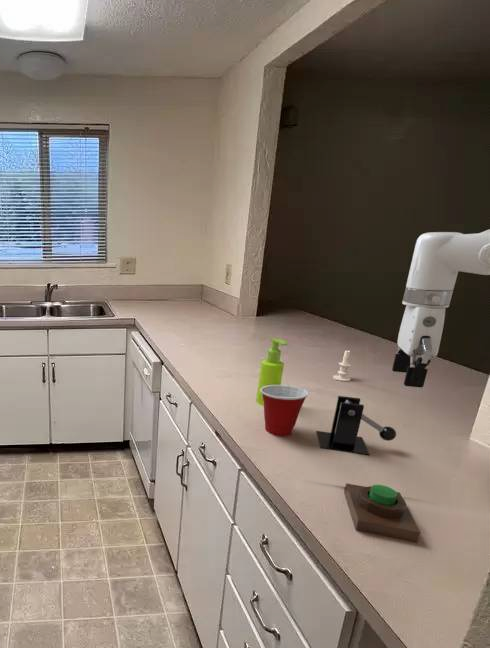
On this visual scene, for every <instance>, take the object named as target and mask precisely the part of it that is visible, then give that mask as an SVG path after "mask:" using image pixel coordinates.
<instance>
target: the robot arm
mask: <svg viewBox="0 0 490 648" xmlns="http://www.w3.org/2000/svg"><path fill="white" fill-rule="evenodd" d="M459 272H462V273H469V274H475V275H483V276H490V228H489V229H486V230H484V231H481V232H479V233H462V232H457V231H435V232H433V231H432V232H424V233H422V234H420V235H419V236H418V238H417V239H416V241H415V245H414V251H413V254H412V259H411V263H410V267H409V271H408V276H407V281H406V284H405V288H404V293H403V298H402V302H401V304H402V305H404V306H405V308H404V313H403V316H402V320H401V323H400V326H399V331H398V336H397V348H396V351H395V352H396V353H395V355H394V360H393V363H392V368H391V370H392V371H393V372H395V373H404V374H405V377H404V380H403V385H404V386H405V387H412V388H420V389H421V388H423V387H424V386H425V382H426V378H427V375H428V370H429V368H430V364H431V361H432V360H431V358H436V357H437V356H438V353H439V350H440V345H441V340H442V336H443V335H442V334H443V330H444V324H445V318H446V308H449V307H450V304H451V300H452V296H453V292H454V289H455V285H456V282H457V278H458V274H459ZM416 358H417V359H416Z"/></svg>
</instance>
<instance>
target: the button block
mask: <svg viewBox="0 0 490 648" xmlns="http://www.w3.org/2000/svg"><path fill="white" fill-rule="evenodd" d="M371 486H372V485H371ZM371 486H364V485H357V484H352V483H347V482H346V483H345V487H344V491H343V493H344V494H343V495H344V497H345V498H344V499H345V500H346V504H347V507H348V510H349V514H350V517H351V520H352V524H353V526H354V530H355V532H360V533H361V532H362V533H366V534H371V535H376V536H380V537H386V538H390V539H396V540H401V541H406V542H410V543H415V544H418V541H419V538H420V536H421V531H420V529H419V526H418V525H417V523H416V521H415V519H414V517H413V515H412V514H411V511H410V509H409V508H408V507H409V506H407V503H406V500H405V499H404V498H403V496H402V494H401V492H398V491H396V492H397V494H398V496H397V499H396V503H395V504H394V505H384V504H380V503H378V502H376V501H373V500H372V499H371V498H370V497H369V493H370V489H371Z"/></svg>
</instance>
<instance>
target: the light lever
mask: <svg viewBox="0 0 490 648" xmlns="http://www.w3.org/2000/svg"><path fill="white" fill-rule="evenodd" d="M344 403H352V402H351V401H349V400H348V399H347V400H346V401H345V402H344ZM353 404H354V403H353ZM361 421H363V422H365V423H366V424H367V425H369V426H371V427H372V428H374V429H375V430H377V431H378V434H379V437H380V438H381V439H382V440H384V441H389V442H390V441H393V440H395V438H396V437H397V431H396V429H394V428H393V427H392V426H382V425H380V424H379V423H378V422H376V421H375V420H373V419H371V418H370V417H368V416H367V415H365V414H364V413H362V417H361Z"/></svg>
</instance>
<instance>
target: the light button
mask: <svg viewBox="0 0 490 648" xmlns="http://www.w3.org/2000/svg"><path fill="white" fill-rule="evenodd" d="M397 492H398V491H396V490H395V489H393V488H392V487H389V486H387V485H383V484H373V485H371V489H370V493H369V497H370V498H371V499H372V500H373V501H376V502H378V503H380V504H384V505H394V504H395V503H396V499H397V496H398V494H397Z"/></svg>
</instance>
